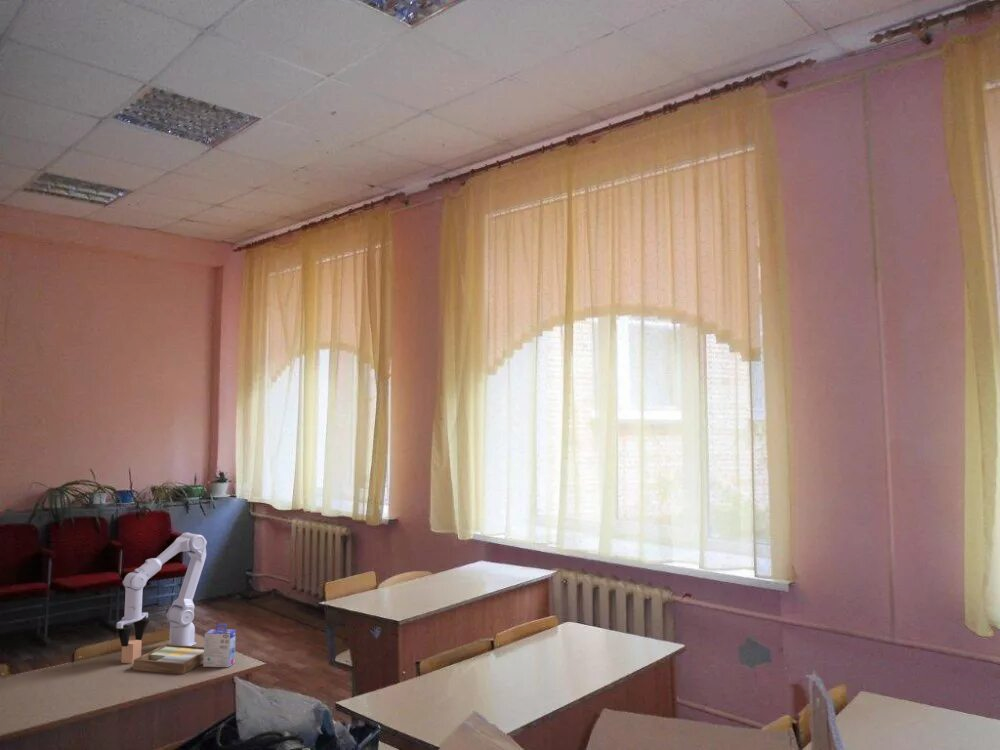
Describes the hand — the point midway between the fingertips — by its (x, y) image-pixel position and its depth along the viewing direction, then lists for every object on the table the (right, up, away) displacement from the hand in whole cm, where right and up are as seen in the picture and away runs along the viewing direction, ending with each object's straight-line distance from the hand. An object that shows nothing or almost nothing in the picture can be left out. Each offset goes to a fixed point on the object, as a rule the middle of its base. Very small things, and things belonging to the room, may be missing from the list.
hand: (131, 642), depth 260 cm
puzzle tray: (+17, -7, -2) cm, 18 cm away
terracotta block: (0, -7, 0) cm, 7 cm away
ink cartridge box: (+34, -7, -3) cm, 35 cm away
